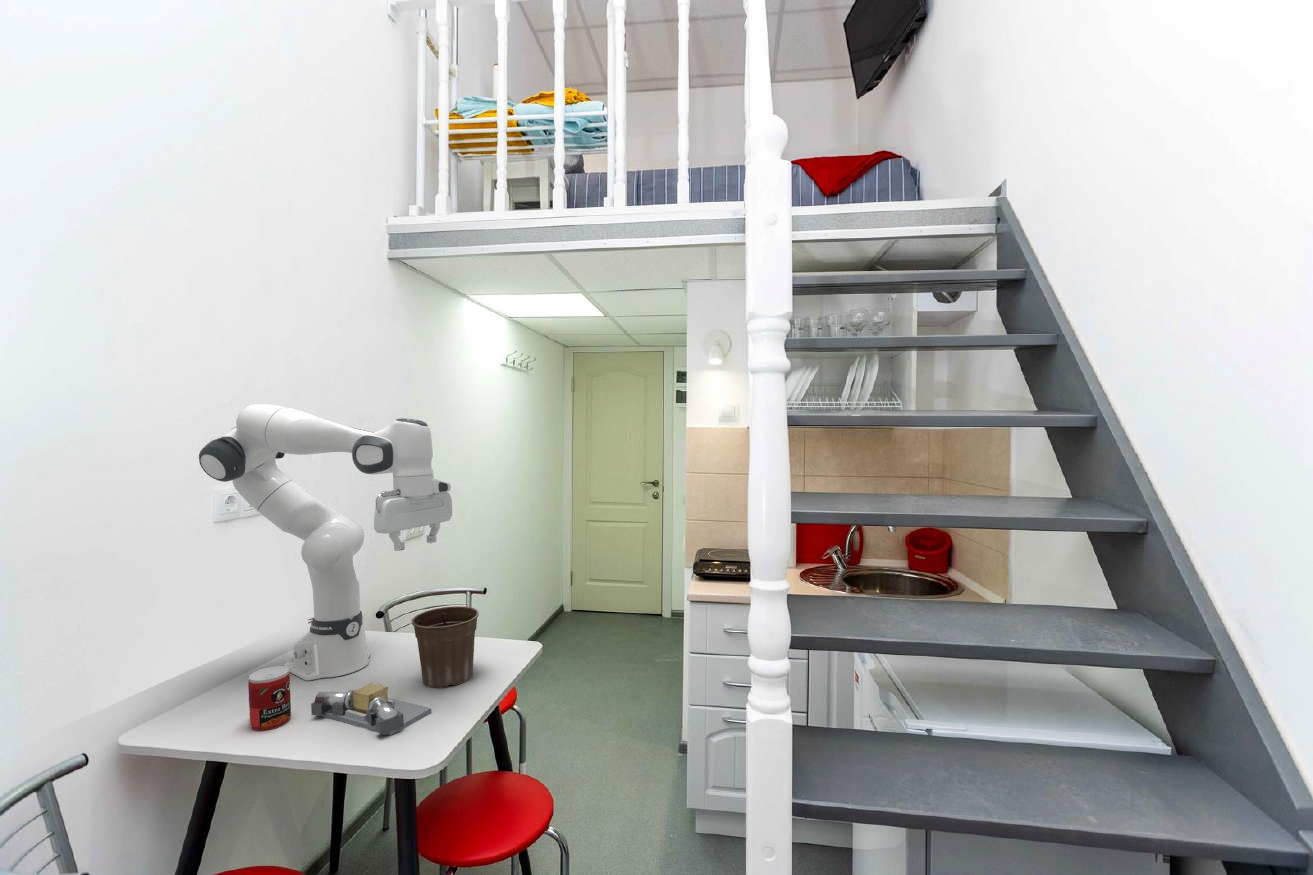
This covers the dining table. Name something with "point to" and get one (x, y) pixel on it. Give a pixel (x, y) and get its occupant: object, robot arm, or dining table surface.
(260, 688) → the canned food
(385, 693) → the golden yellow cube
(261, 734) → the dining table surface
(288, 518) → the robot arm
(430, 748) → the dining table surface
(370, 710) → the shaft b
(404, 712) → the grey base plate
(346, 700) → the shaft
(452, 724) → the dining table surface
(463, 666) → the plant pot
